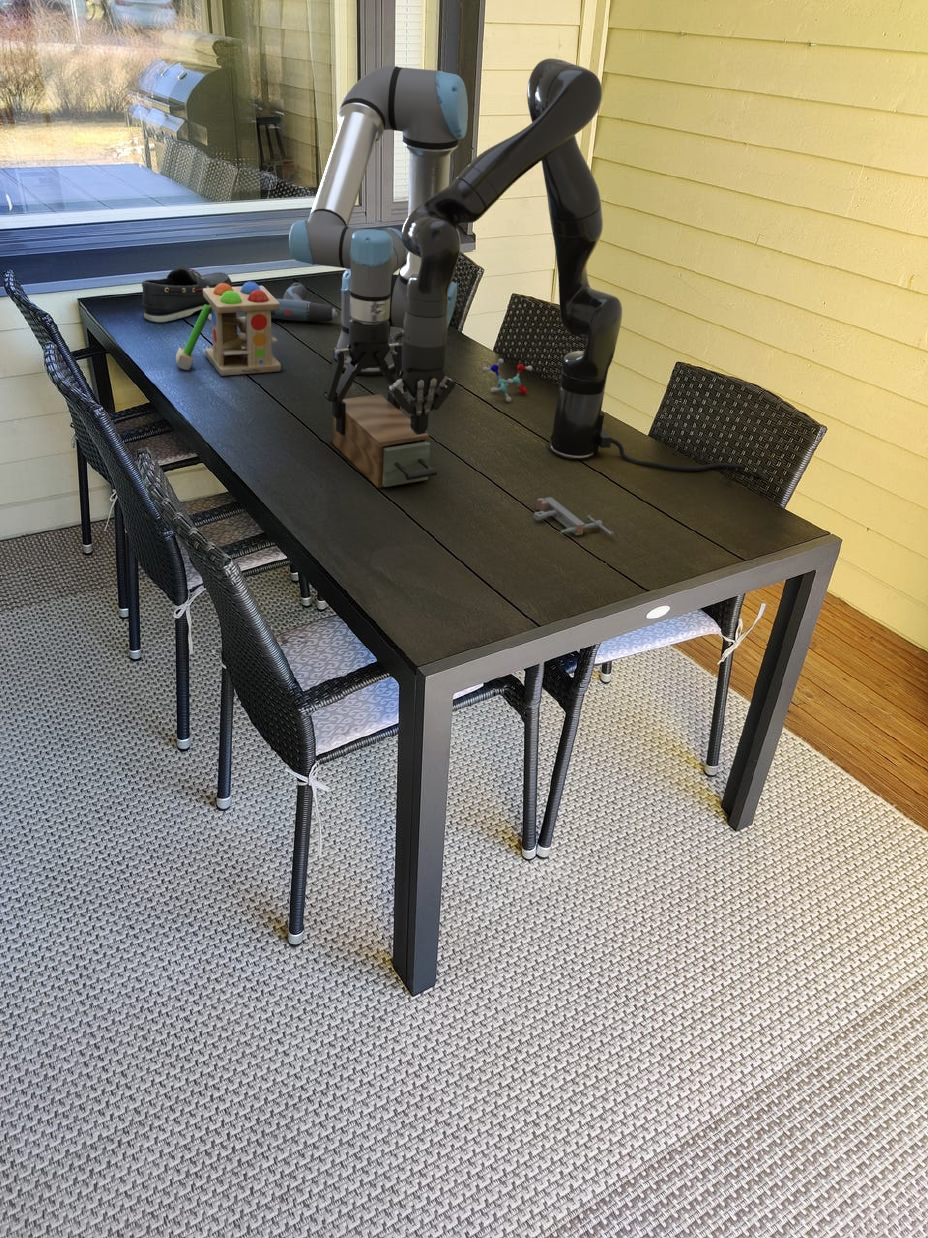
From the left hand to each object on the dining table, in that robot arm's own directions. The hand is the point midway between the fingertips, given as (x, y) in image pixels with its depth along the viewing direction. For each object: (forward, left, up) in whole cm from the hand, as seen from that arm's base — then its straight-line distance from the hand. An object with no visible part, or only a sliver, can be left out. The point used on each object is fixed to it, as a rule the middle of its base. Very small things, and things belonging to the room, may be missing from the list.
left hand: (366, 428), depth 196 cm
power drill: (-40, -77, -4) cm, 87 cm away
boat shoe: (-16, -96, -4) cm, 97 cm away
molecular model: (-46, -6, -4) cm, 46 cm away
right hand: (+5, +21, +8) cm, 23 cm away
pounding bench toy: (-1, -54, -4) cm, 54 cm away
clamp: (-11, +46, -4) cm, 47 cm away
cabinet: (+1, +6, -4) cm, 7 cm away
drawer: (+2, +11, -4) cm, 12 cm away
